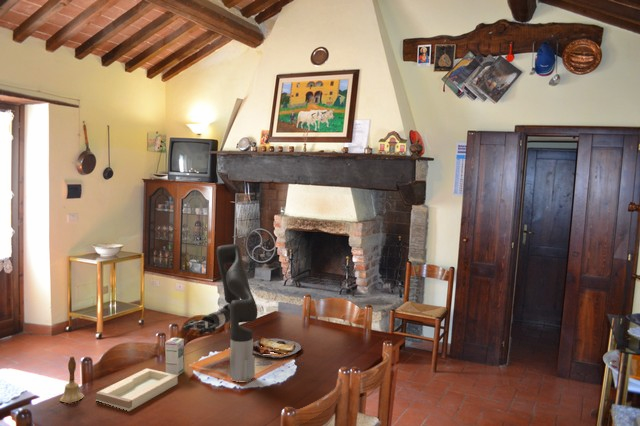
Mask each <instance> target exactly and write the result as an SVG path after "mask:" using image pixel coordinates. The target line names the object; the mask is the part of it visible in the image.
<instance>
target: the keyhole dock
mask: <svg viewBox="0 0 640 426" xmlns="http://www.w3.org/2000/svg"><path fill="white" fill-rule="evenodd" d="M176 385H178V376H177V375H174V374H169V373H166V371H160V370H156V369H152V368H147V367H146V368H144V369H142V370H140V371H138V372H135V373H134V374H131V375H130V376H128V377H126V378H124V379H122V380H120V381H117V382H115V383H114V384H111V385H109V386H107V387H105V388H102V389H101V390H99V391H97V392H95V402H96V401H99V402H102V403H106V404H109V405H111V406H110V407H112V406H114V407H113V408H116V407H117V408H116V409H119V408H120V410H123V409H124V411H126V410H127V412H130V411H132V410H134V409H135V408H137V407H139V406H141V405H142V404H144V403H146V402H148V401H150V400H152V399H153V398H155V397H157V396H158V395H160V394H162V393H164V392H165V391H167V390H169V389H171V388H172V387H174V386H176ZM109 405H108V406H109Z"/></svg>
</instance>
